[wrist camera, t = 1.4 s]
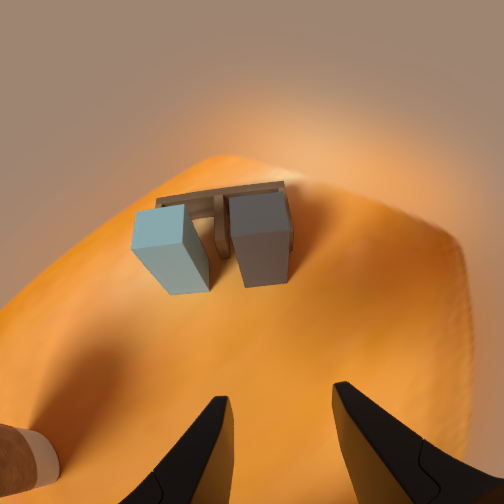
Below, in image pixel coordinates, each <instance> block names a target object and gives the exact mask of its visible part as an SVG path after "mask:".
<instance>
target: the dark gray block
mask: <svg viewBox="0 0 504 504" xmlns="http://www.w3.org/2000/svg"><path fill="white" fill-rule="evenodd" d="M229 207H230V225H231V238H232V242H233V245H234V249H235V253H236V256H237V260H238V264H239V267H240V271H241V275H242V278H243V282H244V286H245V288H249V287H258V286H267V285H275V284H284V283H287V277H288V261H289V242H290V227H289V221H288V216H287V211H286V206H285V200H284V195H283V192H274V193H265V194H256V195H247V196H239V197H231V198H229Z"/></svg>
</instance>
